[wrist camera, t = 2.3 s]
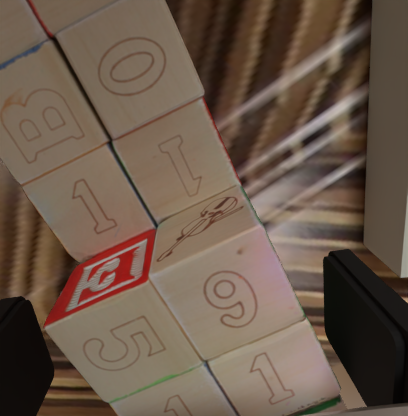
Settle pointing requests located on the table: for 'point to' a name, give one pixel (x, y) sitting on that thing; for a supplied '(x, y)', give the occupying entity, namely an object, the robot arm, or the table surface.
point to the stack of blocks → (149, 219)
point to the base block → (388, 137)
